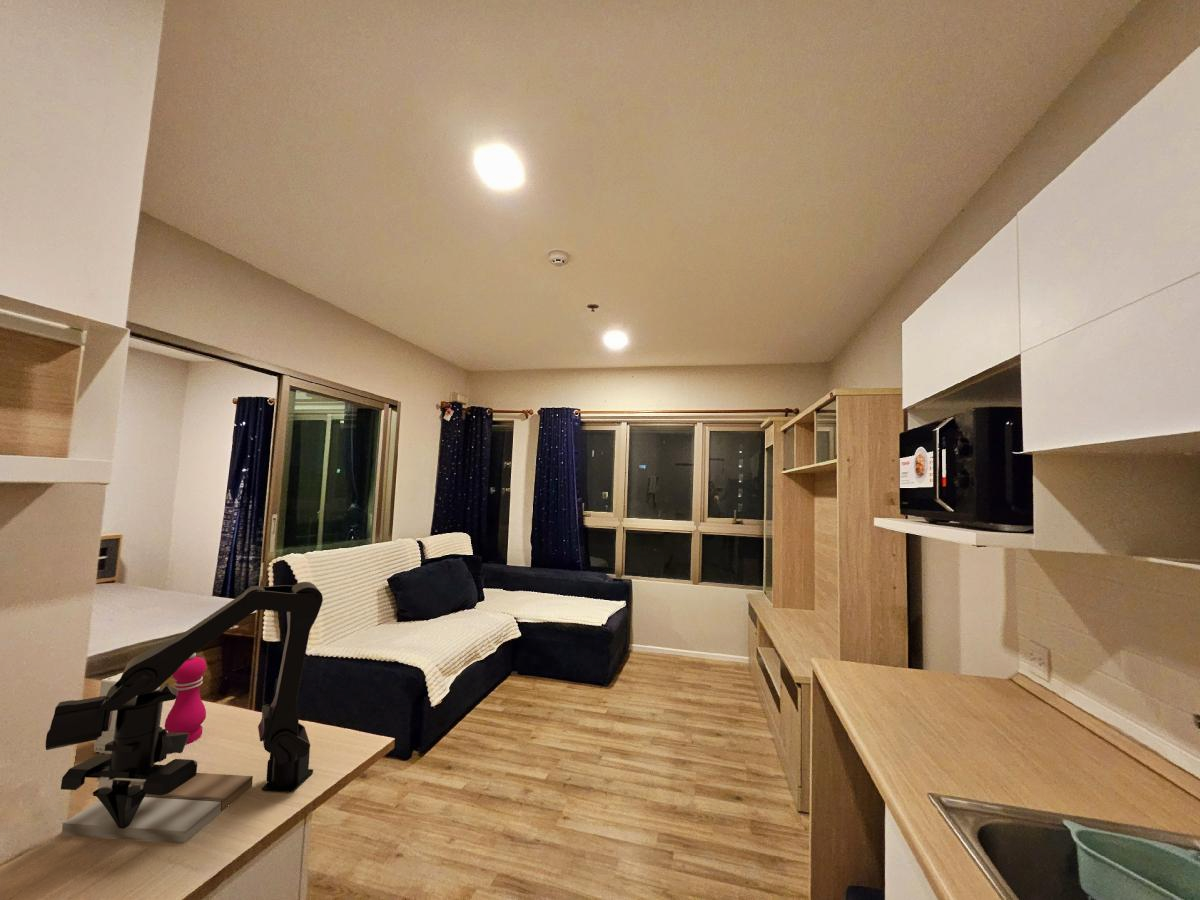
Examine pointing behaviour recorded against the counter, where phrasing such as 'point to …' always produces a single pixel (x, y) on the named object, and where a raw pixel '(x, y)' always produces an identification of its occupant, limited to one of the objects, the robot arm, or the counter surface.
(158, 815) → the grey plank
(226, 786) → the walnut plank
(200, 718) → the pepper mill
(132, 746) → the robot arm
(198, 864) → the counter surface
